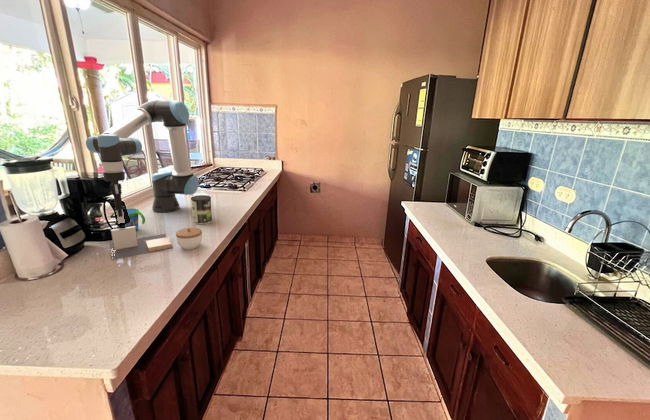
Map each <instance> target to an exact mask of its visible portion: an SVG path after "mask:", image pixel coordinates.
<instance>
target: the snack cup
mask: <svg viewBox="0 0 650 420" xmlns="http://www.w3.org/2000/svg"><path fill="white" fill-rule="evenodd" d="M126 209H127V212H128V216H129V218H130V222H129V223H127V224H125V227H132V226H135V227H136V231H137V230H138V229H139V216H140V217H141V221H142V222H141V224H142V225H144V224H145V223H146V217H145V216H144V214H143V213H142V212H141V211H140V210H139V209H138V208H132V207H131V208H126ZM113 215H114V212H113V213H111V215H110V217H111V216H113ZM113 217H114V216H113Z"/></svg>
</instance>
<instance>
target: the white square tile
mask: <svg viewBox="0 0 650 420" xmlns="http://www.w3.org/2000/svg"><path fill="white" fill-rule="evenodd" d="M110 233H111V239H112V243H113V246H114V250H119V249H125V248H130V247H136V246H138V240H137V238H138V235H137V230H136V227H135V226H132V227H125V228H120V227H118V228H113V229H112V228H111V229H110Z"/></svg>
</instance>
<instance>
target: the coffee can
mask: <svg viewBox="0 0 650 420" xmlns="http://www.w3.org/2000/svg"><path fill="white" fill-rule="evenodd" d="M190 201H191V202H190V203H191V211H192V223H193V224H195V225H207V224H210V223H212V222H213V211H212V196H210V195H205V194H201V195H194V196H192V197H190Z"/></svg>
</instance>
